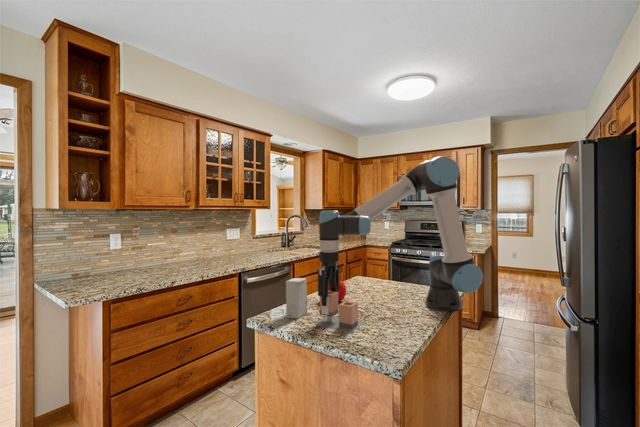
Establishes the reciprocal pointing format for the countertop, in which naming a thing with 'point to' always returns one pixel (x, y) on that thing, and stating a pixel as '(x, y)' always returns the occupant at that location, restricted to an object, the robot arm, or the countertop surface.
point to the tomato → (340, 290)
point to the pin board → (335, 324)
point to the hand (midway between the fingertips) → (329, 311)
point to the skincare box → (296, 297)
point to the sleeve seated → (348, 314)
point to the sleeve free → (331, 303)
